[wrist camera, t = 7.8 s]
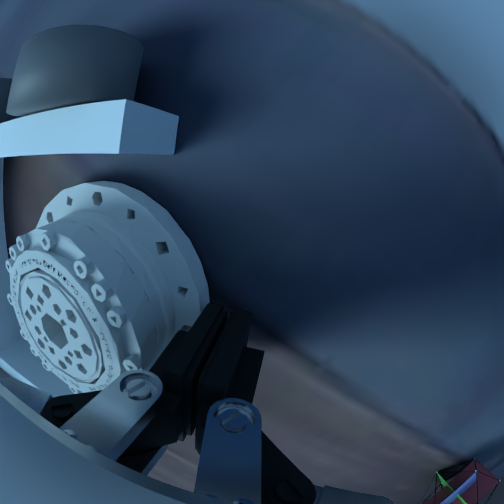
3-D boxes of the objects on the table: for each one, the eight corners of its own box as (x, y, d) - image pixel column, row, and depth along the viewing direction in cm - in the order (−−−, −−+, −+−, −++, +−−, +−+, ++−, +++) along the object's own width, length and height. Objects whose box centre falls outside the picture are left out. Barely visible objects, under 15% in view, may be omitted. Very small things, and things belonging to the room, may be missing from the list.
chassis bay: (173, 437, 15) (145, 493, 10) (28, 363, 17) (-6, 393, 12) (189, 57, 8) (115, 0, 4) (2, 99, 10) (-55, 100, 6)
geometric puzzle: (511, 444, 9) (471, 539, 4) (505, 467, 10) (471, 542, 5) (437, 444, 15) (392, 525, 10) (445, 466, 16) (408, 533, 11)
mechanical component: (125, 132, 10) (31, 252, 13) (45, 126, 6) (-23, 277, 9) (259, 330, 11) (124, 385, 14) (236, 407, 7) (87, 433, 10)
